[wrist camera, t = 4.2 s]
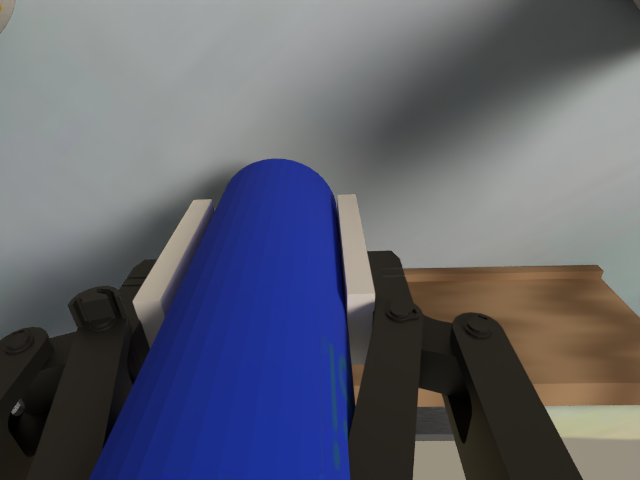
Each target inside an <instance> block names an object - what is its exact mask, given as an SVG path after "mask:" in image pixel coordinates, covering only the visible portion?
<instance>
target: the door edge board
mask: <svg viewBox="0 0 640 480" xmlns="http://www.w3.org/2000/svg"><path fill="white" fill-rule="evenodd" d="M403 271H404V274H405V277H406V280H407V283H408V287H409V290H410V293H411V296H412V299H413V302H414V304H416V305H417V306H418V307H419V308H420V309H421V310H422V313H423V314H424V315H426V316H428V317H430V318H432V319H436V320H440V321H445V322H450V323H452V322H453V321H454V319H455V317H456V316H458V315H460V314H462V313H468V312H474V313H481V314H484V315H487V316H490V317H491V318H493V319H494V320H496V321H497V322H498V323H499V324H500V325H501V327H502V328H503V330H504V331H505V333H506V335H507V337H508V339H509V341H510V343H511V345H512V347H513V348H514V350H515V352H516V354H517V356H518V358H519V360H520V362H521V364H522V365H523V367H524V369H525V371H526V373H527V375H528V377H529V379H530V381H531V382H532V384H533V386H534V388H535V390H536V392H537V394H538V396H539V398H540V399H541V401H542V403H543V405H544V406H567V405H640V318H639V317H638V316H637V315H636V314H635V313H634V312H633V311H632V310H631V309H630V308H629V306H628V305H627V304H626V303H625V302H624V301H623V300H622V299H621V298H620V297H619V296H618V295H617V294H616V293H615V292H614V291H613V290H612V289H611V288H610V287H609V286H608V285H607V284H606V283H605V282H604V281H603V280H602V279H601V277H602V274H603V270H602V269H601V268H600V267H599V266H598V265H580V266H527V267H475V268H422V269H403ZM364 365H365V364H352V374H353V384H354V394H355V405H356V403H357V398H358V393H359V389H360V384H361V379H362V375H363V370H364ZM417 407H445V404H444V401H443V397H442V394H441V393H437V392H433V391H429V390H425V389H421V388H419V390H418V405H417Z"/></svg>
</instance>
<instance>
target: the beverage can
mask: <svg viewBox="0 0 640 480" xmlns="http://www.w3.org/2000/svg"><path fill="white" fill-rule="evenodd" d="M355 407H356V405H355V394H354V384H353V374H352V363H351V353H350V343H349V332H348V324H347V313H346V303H345V292H344V282H343V271H342V261H341V251H340V240H339V230H338V219H337V208H336V202H335V199H334V195H333V193H332V191H331V189H330V187H329V186H328V184H327V183H326V182H325V180H324V179H323V178H322V177H321V176H320V175H319V174H318V173H316V172H315V171H314V170H312V169H311V168H309V167H307V166H305V165H303V164H301V163H298V162H295V161H292V160H286V159H267V160H262V161H258V162H255V163H252V164H250V165H248V166H246V167H245V168H243V169H242V170H240V171H239V172H238V173H237V174H236V175H235V176H234V177H233V178H232V179H231V181H230V182H229V183H228V185H227V187H226V189H225V191H224V193H223V195H222V198H221V200H220V202H219V204H218V206H217V208H216V210H215V212H214V215H213V217H212V219H211V221H210V223H209V225H208V227H207V229H206V231H205V234H204V236H203V238H202V240H201V242H200V244H199V246H198V248H197V251H196V253H195V255H194V257H193V259H192V261H191V263H190V265H189V268H188V270H187V272H186V274H185V276H184V278H183V280H182V282H181V285H180V287H179V289H178V291H177V293H176V295H175V297H174V299H173V302H172V304H171V306H170V308H169V310H168V312H167V314H166V316H165V319H164V321H163V323H162V325H161V327H160V329H159V331H158V333H157V336H156V338H155V340H154V342H153V344H152V346H151V348H150V350H149V353H148V355H147V357H146V359H145V361H144V363H143V365H142V367H141V370H140V372H139V374H138V376H137V378H136V380H135V382H134V384H133V386H132V389H131V391H130V393H129V395H128V397H127V399H126V401H125V403H124V406H123V408H122V410H121V412H120V414H119V416H118V418H117V420H116V423H115V425H114V427H113V429H112V431H111V433H110V435H109V437H108V440H107V442H106V444H105V446H104V448H103V450H102V452H101V454H100V457H99V459H98V461H97V463H96V465H95V467H94V469H93V471H92V474H91V476H90V478H89V480H350V469H349V454H348V440H349V435H350V431H351V426H352V421H353V417H354V412H355Z"/></svg>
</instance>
